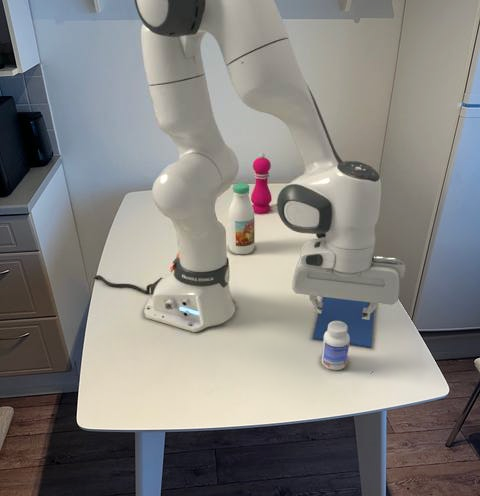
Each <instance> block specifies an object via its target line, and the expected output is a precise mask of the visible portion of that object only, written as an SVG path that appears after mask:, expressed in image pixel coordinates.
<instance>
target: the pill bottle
mask: <svg viewBox="0 0 480 496" xmlns="http://www.w3.org/2000/svg"><path fill="white" fill-rule="evenodd" d="M347 329H348V327H347V325H346V324H345V323H344V322H341V321H332V322H330V323H329V324H328V329H327V330H328V331H326V332H325V334H324V339H323V341H322V350H321V363H322V365H323V367H325V368H326V369H328V370H332V371H338V370H342V369H344V368H345V367H346V365H347V362H348V355H349V347H350V345H349V341H350V337H349V334H348V333H347Z"/></svg>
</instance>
